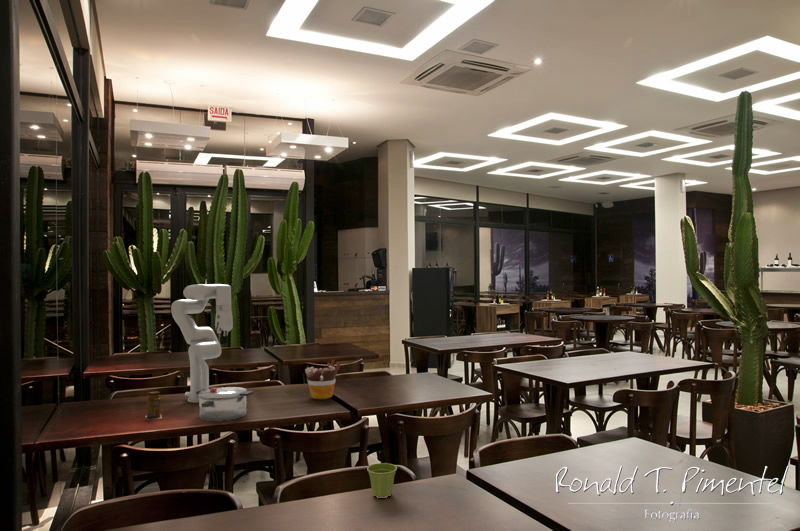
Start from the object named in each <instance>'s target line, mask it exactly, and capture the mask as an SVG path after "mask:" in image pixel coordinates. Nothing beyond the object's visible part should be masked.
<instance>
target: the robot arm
mask: <svg viewBox="0 0 800 531" xmlns="http://www.w3.org/2000/svg"><path fill="white" fill-rule="evenodd" d="M182 293H183V297H184V298H186V299H184V298H183V299H177V300H175V301H173V302H172V303H171V307H170V312H171V315H172V318H173V319H174V322H175V323H176V324H177V326H178V327H179V328H180V331H181V333H182V335H183V338H184V340H185V342H186V344H188V345H190V346H189V347H188V352H187V353H188V357H189V358H188V359H189V364H190V366H189V367H190V369H189V372H190V373H189V374H190V375H189V376H190V384H189V385H190V390H189V391H186V392H185V393H184V397H188V398H187V402H188V403H193V404H196V403H197V404H198V403H199V394H196V392H197V391H200V390H203V389H205V390H208V389H210V386H209V385H210V383H209V382H210V379H209V377H210V375H209V374H210V371H209V370H210V368H209V365H208V364H207V362H206V361H205V360H209V359H217V358H218V357H220V356H221V354H222V347H221V345H227V344H228V335H229V332H231V330H232V329H233V328H234V322H233V321H234V320H233V313H232V286H231V285H229V284H222V283H212V284H211V283H209V284H205V283H204V284H203V283H201V284H191V285H187V286H186V287H184V289H183V292H182ZM210 299H215V312H216V313H215V324H214V327H215V331H216V333H217V334H219V339H218V337H217V335H216V333H215V331H214V329H213V328H211V327H210V326H197V323H196V322H195V319H194V318H192V317H191V316H189V315H190V314H191V315H193V314H200V313H203V311H204V310H205V308H206V306H207V304H208V302H209V300H210Z"/></svg>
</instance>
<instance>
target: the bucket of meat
mask: <svg viewBox="0 0 800 531" xmlns="http://www.w3.org/2000/svg"><path fill="white" fill-rule="evenodd" d="M335 362H336V361H335V360H334V359H331V363H330V362H329V363H328V364H327V367H324V368H321V367H320V368H318V367H317V368H316V367H314V366H311V367H308V368H305V369H304V372H305V374H306V375H305V376H306V381H307V384H308V389H309V390H308V391H309V394H310V396H311V399H314V400H328V399H330V398H332V397H333V396H334V389H335V385H336V381H337V380H336V379H337V378H336V376H337V374H338V371H339V369H340V367H341V363H340V362H338V363H337V364H336V365H335Z"/></svg>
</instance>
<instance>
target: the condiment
mask: <svg viewBox="0 0 800 531" xmlns="http://www.w3.org/2000/svg"><path fill="white" fill-rule="evenodd" d="M160 396H161V393H160V391H149V392H148V393H147V399H146V401H147V402H146V409H147V410H146V412H147V413H146V415H145V420H148V421H149V420H158V419H159V420H160V419H163V416H162V413H161V410H162V409H161V403H162V400H161V399H162V398H161V397H160Z"/></svg>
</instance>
